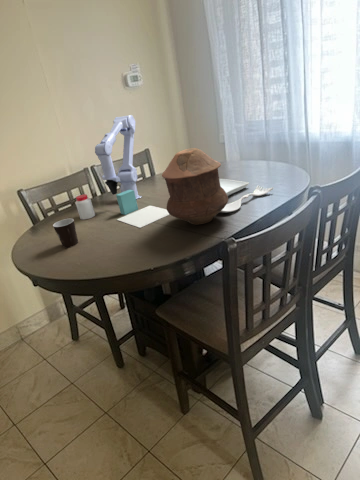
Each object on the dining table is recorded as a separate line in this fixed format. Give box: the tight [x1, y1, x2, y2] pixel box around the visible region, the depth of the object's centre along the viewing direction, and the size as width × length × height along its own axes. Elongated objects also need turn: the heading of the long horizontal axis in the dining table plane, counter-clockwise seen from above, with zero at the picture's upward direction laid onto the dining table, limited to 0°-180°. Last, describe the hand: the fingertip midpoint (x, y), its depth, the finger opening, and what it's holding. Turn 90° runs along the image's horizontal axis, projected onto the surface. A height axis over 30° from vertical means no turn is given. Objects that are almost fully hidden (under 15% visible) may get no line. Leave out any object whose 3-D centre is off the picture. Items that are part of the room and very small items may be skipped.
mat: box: [116, 205, 171, 229], centre depth 163 cm, size 20×20×1 cm
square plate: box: [219, 178, 250, 197], centre depth 177 cm, size 27×27×4 cm
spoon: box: [219, 184, 274, 213], centre depth 156 cm, size 9×32×4 cm, turn 130°
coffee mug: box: [52, 218, 79, 249], centre depth 144 cm, size 12×9×10 cm
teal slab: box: [115, 190, 139, 216], centre depth 171 cm, size 4×8×10 cm, turn 130°
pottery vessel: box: [161, 147, 229, 225], centre depth 140 cm, size 26×26×30 cm
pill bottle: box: [75, 193, 96, 220], centre depth 176 cm, size 8×8×11 cm
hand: (114, 193), depth 178 cm, fingers closed
